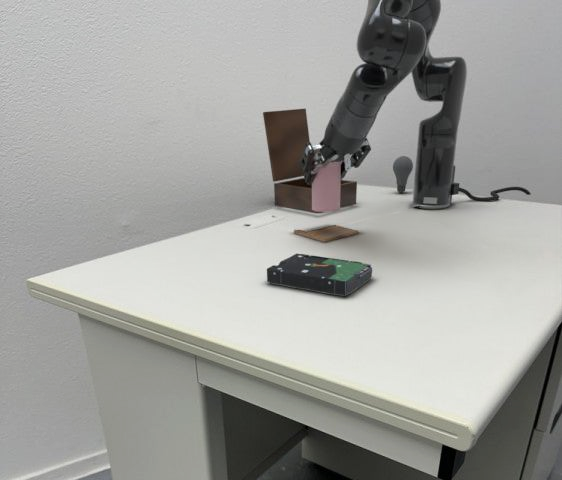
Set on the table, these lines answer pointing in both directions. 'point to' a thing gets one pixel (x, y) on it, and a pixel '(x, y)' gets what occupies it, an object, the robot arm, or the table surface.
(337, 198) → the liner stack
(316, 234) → the cork pad
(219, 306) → the table surface
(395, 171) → the light bulb
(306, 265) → the disk drive
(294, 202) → the chest
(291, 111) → the chest lid
